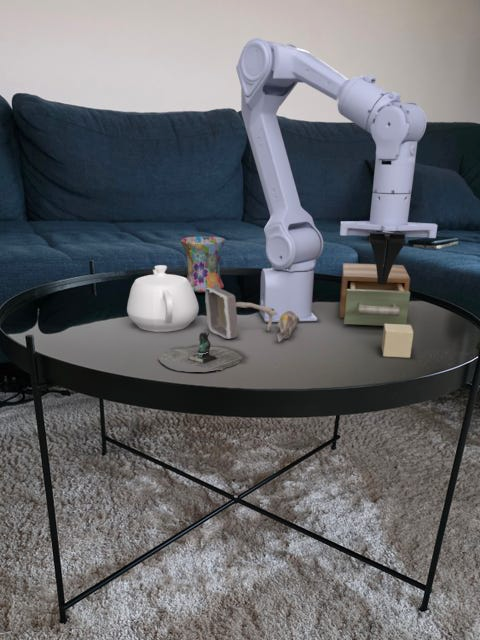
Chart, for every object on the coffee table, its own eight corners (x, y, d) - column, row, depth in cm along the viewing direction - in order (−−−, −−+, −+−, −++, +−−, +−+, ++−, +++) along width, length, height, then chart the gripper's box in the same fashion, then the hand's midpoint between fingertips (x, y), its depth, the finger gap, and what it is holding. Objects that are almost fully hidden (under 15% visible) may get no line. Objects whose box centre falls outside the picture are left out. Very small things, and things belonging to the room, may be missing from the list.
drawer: (408, 335, 96) (413, 299, 94) (344, 332, 98) (347, 297, 95) (399, 309, 111) (403, 278, 108) (343, 307, 112) (346, 276, 110)
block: (410, 358, 89) (413, 332, 87) (382, 356, 89) (386, 330, 88) (407, 349, 92) (410, 324, 91) (381, 348, 93) (384, 323, 91)
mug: (228, 294, 125) (228, 242, 120) (184, 296, 123) (182, 243, 119) (220, 282, 135) (219, 234, 131) (179, 283, 134) (177, 235, 129)
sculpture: (246, 350, 92) (243, 322, 85) (236, 403, 89) (232, 378, 82) (172, 341, 94) (163, 313, 87) (159, 392, 90) (148, 367, 83)
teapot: (124, 311, 112) (119, 256, 108) (188, 307, 115) (187, 254, 110) (132, 343, 94) (128, 279, 90) (208, 338, 97) (207, 275, 93)
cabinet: (404, 320, 107) (410, 278, 104) (340, 317, 109) (343, 276, 106) (398, 303, 118) (403, 265, 115) (340, 301, 120) (343, 263, 117)
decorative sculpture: (297, 327, 103) (299, 285, 100) (307, 344, 95) (310, 298, 91) (205, 328, 102) (204, 285, 99) (206, 345, 94) (205, 299, 90)
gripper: (343, 193, 87) (336, 286, 93) (445, 195, 85) (431, 290, 91) (343, 190, 93) (336, 277, 99) (438, 192, 91) (425, 280, 97)
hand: (381, 283), depth 95 cm, fingers closed
